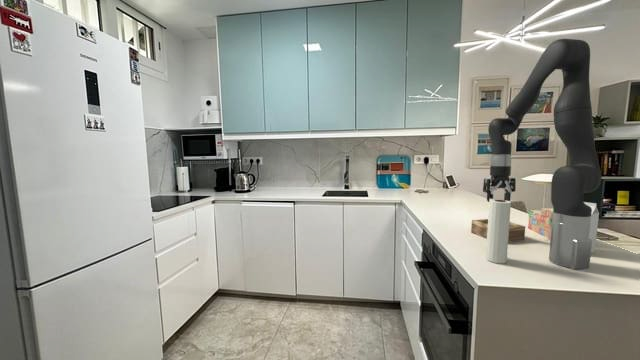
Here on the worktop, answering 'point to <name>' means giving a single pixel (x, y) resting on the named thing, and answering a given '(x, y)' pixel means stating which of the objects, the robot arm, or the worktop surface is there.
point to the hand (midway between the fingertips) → (498, 201)
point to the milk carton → (593, 224)
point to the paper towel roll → (498, 230)
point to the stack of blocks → (541, 221)
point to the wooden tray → (514, 230)
